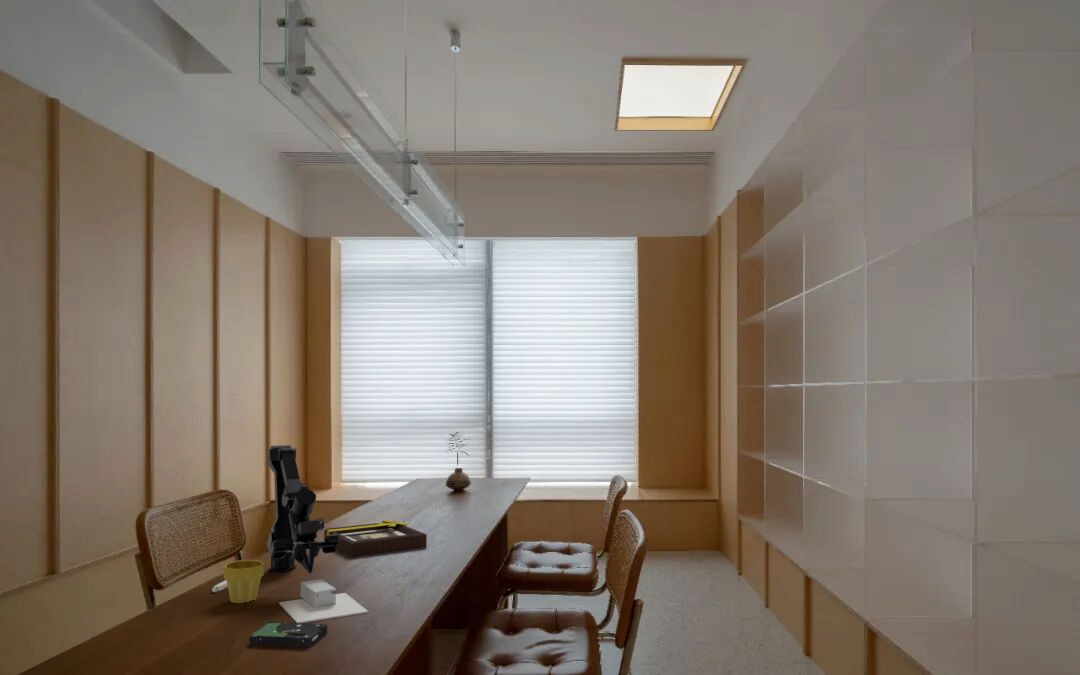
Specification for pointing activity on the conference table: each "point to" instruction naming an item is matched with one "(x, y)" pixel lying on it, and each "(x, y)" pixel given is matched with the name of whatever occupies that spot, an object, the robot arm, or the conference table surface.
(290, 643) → the disk drive
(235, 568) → the plant pot
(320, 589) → the skincare box
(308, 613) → the mat
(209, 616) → the conference table surface
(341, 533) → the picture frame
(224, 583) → the marker
